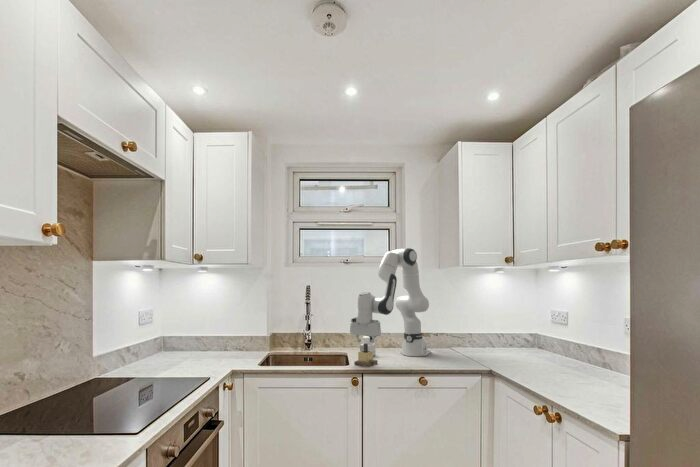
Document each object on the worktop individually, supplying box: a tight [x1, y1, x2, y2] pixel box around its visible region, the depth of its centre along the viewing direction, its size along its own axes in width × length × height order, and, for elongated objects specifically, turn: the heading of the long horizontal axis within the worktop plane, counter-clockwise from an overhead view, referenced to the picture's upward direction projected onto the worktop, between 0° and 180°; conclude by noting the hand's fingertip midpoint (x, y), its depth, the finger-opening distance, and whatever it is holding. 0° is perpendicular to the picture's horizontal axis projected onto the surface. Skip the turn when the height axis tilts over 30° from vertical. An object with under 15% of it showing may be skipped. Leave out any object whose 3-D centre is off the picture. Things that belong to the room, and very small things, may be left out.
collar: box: [357, 350, 374, 362], centre depth 245 cm, size 6×6×5 cm
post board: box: [353, 343, 378, 367], centre depth 245 cm, size 10×10×12 cm
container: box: [359, 335, 377, 357], centre depth 270 cm, size 8×8×13 cm
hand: (365, 342), depth 246 cm, fingers open, 8 cm apart
